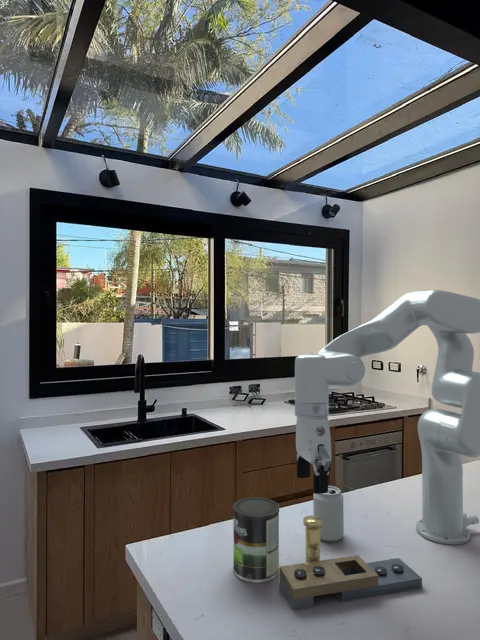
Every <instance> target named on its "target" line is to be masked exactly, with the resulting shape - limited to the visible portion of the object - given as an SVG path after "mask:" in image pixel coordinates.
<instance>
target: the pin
mask: <svg viewBox="0 0 480 640" xmlns="http://www.w3.org/2000/svg"><path fill="white" fill-rule="evenodd" d="M302 524H303V526H305V563H308V562H314V561H321V540H320V527H321V526H322V519H321V518H320V517H317V516H314V515H307V516H304V517H303V519H302Z"/></svg>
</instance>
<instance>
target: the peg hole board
mask: <svg viewBox="0 0 480 640" xmlns="http://www.w3.org/2000/svg"><path fill="white" fill-rule="evenodd" d="M279 588H280V589H281V591H282V593H283V594H284V596H285V598H286V599H287V601H288V603H289V605H290V606H291V608H292V610H293V611H297V610H299V611H300V610H304V609H310V608H314V597H319V596H325V595H330V594H335V595H336V596H337V598H338V599H339V600H340V602H341V603H344V602H350V601H354V600H362V599H365V598H366V599H367V598H373V597H377V596H383V595H388V594H389V595H390V594H395V593H396V594H397V593H401V592H407V591H412V590H418V589H423V578H422V577H421V576H420V575H419V574H418V573H417V572H416V571H414V570H413V569H412V568H411V567H410V566H409V565H408V564H407V563H406V562H404V561H403V560H402V559H401V558H400V557H397V558H390V559H389V558H388V559H384V560H377V561H371V562H366V561H365V560H364V559H363V558H362V557H361V556H360V555H359V554H358V555H356V554H355V555H349V556H342V557H337V558H336V557H335V558H331V559H330V558H327V559H322V560H321V559H320V561H314V562H308V563H306V562H304V563H302V562H301V563H296V564H289V565H283V566H281V565H280V566H279Z"/></svg>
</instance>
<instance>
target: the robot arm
mask: <svg viewBox="0 0 480 640" xmlns="http://www.w3.org/2000/svg"><path fill="white" fill-rule="evenodd" d="M421 326H427V327H428V328H429V330H430V331H431V333H432V334H433V336H434V338H435V340H436V343H437V348H438V349H437V358H436V364H435V369H434V374H433V378H432V384H431V395H432V397H433V399H434V400H435V401H436V402H437V403H440V404H442V405H446V406H450V407H453V408H458V409H461V413H458V412H454V411H449V410H445V409H442V408H441V409H440V408H432V409H428V410H426V411H424V412H423V413H422V414H421V415H420V417H419V419H418V421H417V434H418V439H419V442H420V443H419V444H420V449H421V465H422V466H421V477H422V479H421V482H422V483H421V485H422V490H421V492H422V493H421V495H422V497H421V500H422V501H421V504H422V509H421V511H422V514H421V515H422V518H421V519H419V520H418V521H417V522H416V524H415V526H416V527H415V529H416V531H417V533H418V534H419V535H420V536H422V537H423V538H425V539H427V540H429V541H432V542H435V543H438V544H445V545H461V544H466V543H467V542H468V541H470V540H471V533H470V530H469V529H468V527H469V526H470V525H471V526H472V525H478V524H479V523H480V519H479V517H478V516H477V515H472V516H468V515H467V514H466V513H464V493H463V491H464V485H463V484H464V483H463V482H464V479H463V476H464V472H463V471H464V469H463V463H462V457H461V456H464V457H468V458H478V457H480V371H479V372H478V371H473V366H474V358H475V350H474V346H473V344H472V341H471V339H470V338H469V336H468V334H470V335H471V334H478V333H480V299H479V298H477V297H472V296H468V295H464V294H460V293H455V292H452V291H446V290H443V289H441V290H440V289H428V290H417V291H416V290H415V291H410V292H407V293H405V294H403V295H401V296H400V297H398V298H397V299H396V300H395V301H393V302H392V303H391V304H390V305H389V306H387V307H386V308H385V309H384V310H382V311H381V312H380V313H379V314H377V315H375V317H374V318H371V320H369V321H368V322H365V323H363V324H360V325H358V327H355V328H353V329H351V330H348V331H347V332H345V333H343V334H340V335H339V336H338V337H336V338H334V339H333V340H331V341H330V342H329V343H327V344H326V345H325V346H324V347H323V348H322V349H320V350H319V351H318V352H317V353H303V354H299V355H297V356H296V357H295V360H294V415H295V417H296V424H295V451H296V457H295V459H296V477H297V479H306V478H310V477H311V465H312V468H313V471H314V474H313V475H312V476H313V479H312V480H313V483H312V485H313V486H312V491H313V494H314V493H315V494H321V493H327V492H328V486H329V475H330V469H331V463H332V441H331V440H332V438H331V437H332V436H331V430H330V429H331V428H330V423H329V422H330V421H329V415H330V413H329V405H330V404H329V402H330V401H329V395H330V394H329V393H330V391H329V387H330V386H334V387H335V386H337V387H345V388H346V387H352V386H355V385H358V384H359V383H360V382H361V381H362V380H363V379H364V377H365V375H366V367H365V363H364V362H363V360H362V359H360V358H363V357H365V356H370V355H375V354H379V353H384V352H387V351H391V350H393V349H395V347H397V346H398V345H399V344H400V343H402V342H403V341H404V340H406V339H407V338H408V337H409V336H410V335H411V334H413V332H415V331H416V330H417V329H418V328H420V327H421ZM319 465H320V466H319ZM318 466H319V467H318Z"/></svg>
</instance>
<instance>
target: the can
mask: <svg viewBox="0 0 480 640" xmlns="http://www.w3.org/2000/svg"><path fill="white" fill-rule="evenodd" d="M341 491H342V490H341V488H338V487H336V486H333V485H328V492H327V493H321V494H315V493H314V492H313V497H312V498H313V500H312V504H313V506H312V507H313V511H312V513H313V516H317V517H320V518H321V519H322V526H321V527H320V541H323V542H329V543H334V542H337V541H340V539H341V538H342V537H344V534H345V533H344V530H345V529H344V528H345V527H344V495H343V494H342V492H341Z"/></svg>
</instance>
